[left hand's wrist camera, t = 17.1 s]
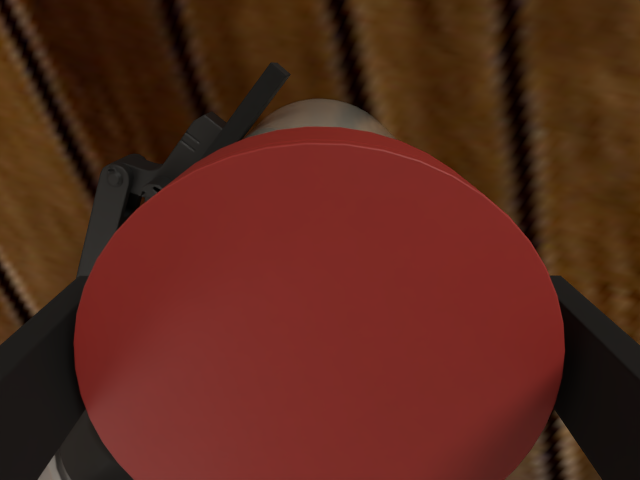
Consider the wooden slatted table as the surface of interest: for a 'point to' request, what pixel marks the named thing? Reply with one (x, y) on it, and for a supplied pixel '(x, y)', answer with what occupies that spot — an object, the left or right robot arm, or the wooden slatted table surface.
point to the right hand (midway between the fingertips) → (380, 153)
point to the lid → (319, 320)
